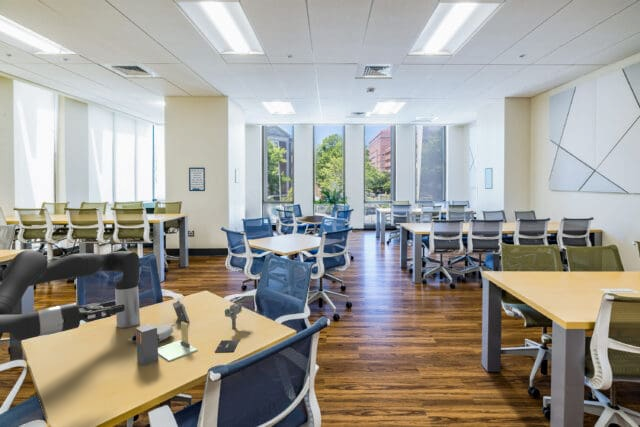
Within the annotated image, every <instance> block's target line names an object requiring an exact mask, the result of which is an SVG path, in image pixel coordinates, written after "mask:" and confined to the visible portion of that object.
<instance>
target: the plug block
mask: <svg viewBox="0 0 640 427" xmlns="http://www.w3.org/2000/svg"><path fill="white" fill-rule="evenodd" d="M157 327H158V326H155V325H153V324H152V323H148V324H144V325H142V326H138V327H135V333H136V341H135V342H136V360H137V362H138V363H139V364H140V365H142V366H143V367H145V366H147V365H150V364H152V363H155V362H158V361H159V355H158V348H159V344H158V343H159V342H158V339H157Z"/></svg>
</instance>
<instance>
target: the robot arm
mask: <svg viewBox="0 0 640 427" xmlns="http://www.w3.org/2000/svg"><path fill="white" fill-rule="evenodd" d="M140 263H141V261H140V257H139V254H138V253H137V252H136V251H127V250H124V251H121V250H120V251H119V250H118V251H114V252H108V253H102V254H101V253H91V252H89V253H88V252H87V253H85V252H84V253H73V254H69V255H66V256H63V257H60V258H58V259H56V260H54V261H50V262H49V261H48V258H47V256H45V255H44V254H43V253H41V252H39V251H37V250H34V249H33V250H32V249H26V250H23V251H20V252H19V253H17V254H16V255H15V256H14V258H12V260H11V261H10V262H9V263H8V264H7V266H6V267H5V269H4V270H3V272H2V280H3V281H2V282H1V283H0V340H1V338H2V337H3V334H4V333H5V334H9V336H10V338H11V340H12V341H14V342H19V341H25V340H29V339H33V338H37V337H42V336H50V335H54V334H58V333H62V332H66V331H70V330H73V329H74V330H76V329H78V328H79V327H80V326H81V325H80V324H81V321H82V320H86V321H87V322H93V321H96V320H102V319H106V318H110V317H112V315H113V314H114V315H115V314H116V315H115V318H116V320H115V321H116V328H119V329H124V328H126V329H127V328H132V327H135V326H137V325H139V324H140V323H141V318H140V317H141V316H140V298H139V292H140V291H139V281H140V276H141V275H140V271H141V270H140V268H141V264H140ZM101 272H118V273H122V278H120V279H118V280H116V281H115V283H114V294H115V295H114V296H115V298H114V299H115V300H110V301H106V302H96V301H95V302H92V303H88V304H82V305H78V303H76V302H70V303H66V304H60V305H55V306H51V307H50V306H49V307H46V308H42V309H39V310H35V311H29V312H24V313H21V314H14V312H15V310H16V308H18V305H19V303H20V301H22V298H23V296H24V294H25V293H26V291H28V288H29V287H32V286H36V285H40V284H45V283H48V282H53V281H54V282H55V281H60V280H61V281H62V280H68V279H69V280H70V279H77V278H86V277H92V276H94V275H97V274H98V273H101Z"/></svg>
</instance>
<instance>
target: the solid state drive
mask: <svg viewBox="0 0 640 427" xmlns="http://www.w3.org/2000/svg"><path fill="white" fill-rule="evenodd" d="M239 340H240V339H239ZM239 340H238V339H233V340H232V339H231V340H229V339H228V340H227V339H226V340H223V339H222V340H221V341H220V342H219V344H218V345H217V347H216V349H215V351H214V353H215V354H217V353H219V354H221V353H222V354H223V353H234V352H235V350H236V348H237V346H238V344H239V342H240V341H239Z"/></svg>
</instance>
